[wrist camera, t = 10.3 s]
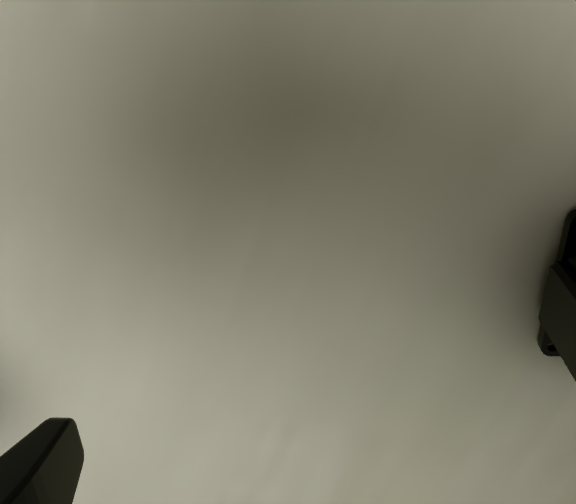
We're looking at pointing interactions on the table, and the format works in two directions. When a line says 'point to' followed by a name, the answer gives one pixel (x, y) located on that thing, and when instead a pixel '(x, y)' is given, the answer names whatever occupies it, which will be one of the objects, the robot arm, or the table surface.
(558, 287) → the robot arm
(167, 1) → the table surface
